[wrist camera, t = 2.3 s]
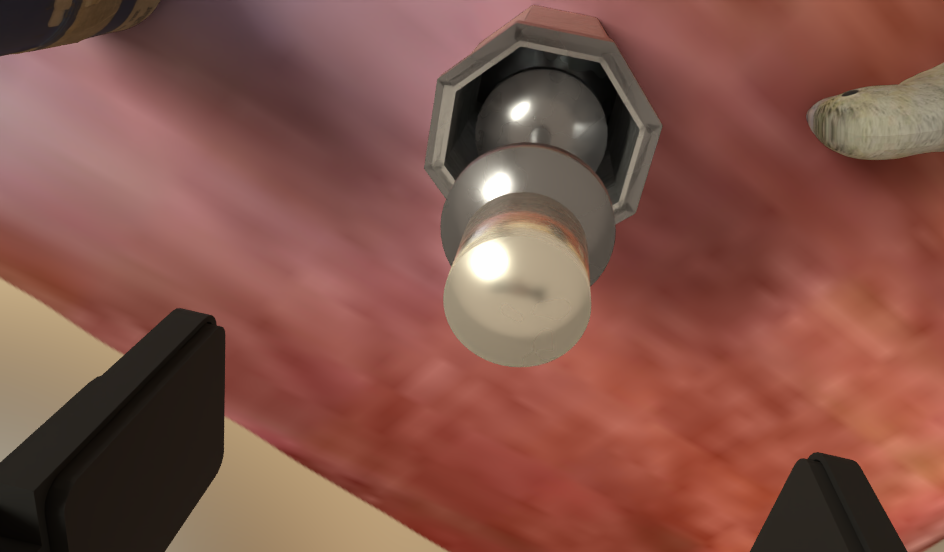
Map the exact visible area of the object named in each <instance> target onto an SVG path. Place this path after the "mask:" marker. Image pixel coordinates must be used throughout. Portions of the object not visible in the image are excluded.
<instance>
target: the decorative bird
mask: <svg viewBox="0 0 944 552" xmlns="http://www.w3.org/2000/svg"><path fill="white" fill-rule="evenodd" d="M806 118H807V122H808V124H809V126H810V129H811V131H812V132H813V133H814V134H815V136H816V137H817V138H818V140H819V141H820V142H821V143H823V144H824V145H825V146H826V147H828V148H830V149H831V150H833V151H835V152H837V153H840V154H842V155H844V156H847V157H852V158H857V159H866V160H886V159H898V158H902V157H907V156H911V155H916V154H921V153H929V152H944V63H942V64H940V65H937V66H936V67H934V68H932V69H930V70H927V71H924V72H921V73H919V74H917V75H915V76H913V77H911V78H909V79H906V80H904V81H903V82H901V83H900V84H899V85H879V86H869V87H863V88H858V89H854V90H850V91H847V92H844V93H842V94H840V95H837V96H832V97H828V98H825V99H823V100H821V101H819V102H817V103H816V104H815V105H814V106H812V107H811V108H810V109H809V110H808V112H807V115H806Z"/></svg>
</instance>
